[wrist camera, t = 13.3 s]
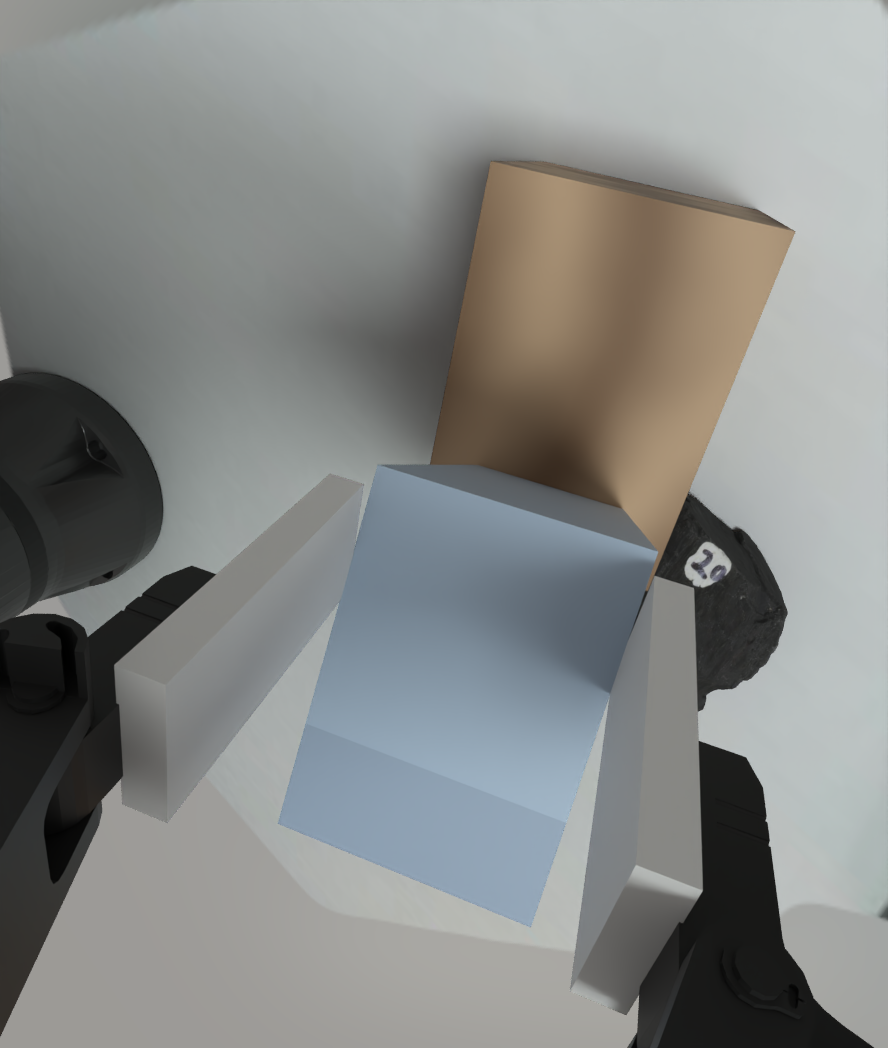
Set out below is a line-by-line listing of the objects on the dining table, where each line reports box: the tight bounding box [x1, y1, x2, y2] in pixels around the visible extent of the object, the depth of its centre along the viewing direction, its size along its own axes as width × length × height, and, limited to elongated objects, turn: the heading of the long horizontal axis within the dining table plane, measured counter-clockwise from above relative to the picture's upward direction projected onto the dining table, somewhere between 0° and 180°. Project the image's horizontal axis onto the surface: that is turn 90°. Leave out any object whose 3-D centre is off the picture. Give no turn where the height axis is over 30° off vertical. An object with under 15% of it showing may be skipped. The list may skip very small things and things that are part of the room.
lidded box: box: [278, 465, 658, 927], centre depth 22 cm, size 14×6×8 cm
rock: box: [629, 495, 788, 711], centre depth 38 cm, size 10×9×6 cm
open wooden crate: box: [430, 161, 795, 591], centre depth 31 cm, size 10×14×11 cm
